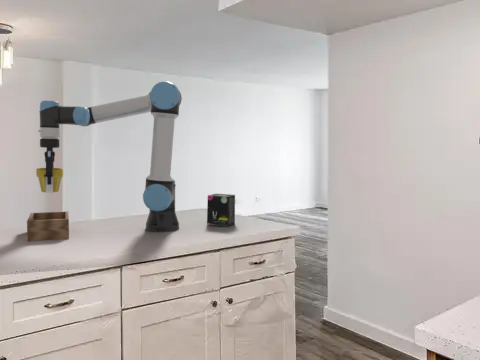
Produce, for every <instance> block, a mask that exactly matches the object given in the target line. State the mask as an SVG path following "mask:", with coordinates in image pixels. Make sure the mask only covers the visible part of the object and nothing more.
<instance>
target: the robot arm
mask: <svg viewBox="0 0 480 360" xmlns="http://www.w3.org/2000/svg"><path fill="white" fill-rule="evenodd" d="M182 99H183V98H182V93H181V91H180V89H179V88H178V86H177V85H176V84H175V83H173V82H170V81H167V80H166V81H164V80H163V81H159V82H157V83H156V84H155V85H153V87H152V88H151V90H150V91H149V92H148V94H145V95H141V96H137V97H132V98H127V99H122V100H117V101H113V102H108V103H103V104H97V105H94V106H87V107H86V106H78V105H77V106H68V105H67V106H66V105H65V106H63V105H60V102H59V101H57V100H41V102H40V103H39V112H38V113H39V129H38V133H39V137H40V139H39V147H40V148H42V149H43V148H44V149H45V148H46V151H44V162H45V168H46V173H45V174H46V175H44V177H46V192H45V193H47V194H48V193H51V194H52V193H54V192H53V177H52V176H53V168H55V167H54V163H55V157H56V152H55V151H54V149H55V148H56V149H57V148H59V149H60V139H59V138H60V136H61V135H60V130H61V129H60V125H72V126H73V125H74V126H79V127H89V126H90V125H95V124H98V123H103V122H108V121H109V122H110V121H113V120H117V119H122V118H123V119H124V118H128V117H132V116H137V115H142V114H147V113H150V114H151V116H152V117H153V128H152V138H151V139H152V142H151V155H150V167H149V168H150V169H149V174H148V176H147V177H145V187H144V191H143V193H142V199H143V200H142V201H143V203H144V205H145V206H146V207H147V209H148V210H149V213H148V216H147V219H146V222H145V230H146V231H150V232H171V231H173V232H174V231H177V230H179V229H180V223H179V220H178V216H177V213H176V186H177V185H176V180H175V179H174V178H173V177H172V176H171V170H172V160H173V159H172V158H173V148H174V147H173V143H174V131H175V120H176V119H177V118H178V117H179V115H180V112H179V111H180V105H181V104H182Z"/></svg>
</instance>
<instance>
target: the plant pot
mask: <svg viewBox="0 0 480 360" xmlns="http://www.w3.org/2000/svg"><path fill="white" fill-rule="evenodd" d="M35 173H36V174H35V175H36V177H37V178H38V182H39V187H40V191H41V192H42V193H46V177H44V175H46V174H45V173H46V167H39V168H36V172H35ZM52 177H53V193H57V192H59V191H60V190H59V189H60V185H61V181H62V178H63V177H64V168H63V167H62V168H61V167H60V168H59V167H54V168H53V176H52Z"/></svg>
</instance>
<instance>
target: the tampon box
mask: <svg viewBox="0 0 480 360" xmlns="http://www.w3.org/2000/svg"><path fill="white" fill-rule="evenodd" d="M206 209H207V211H206V213H207V215H206V218H207V219H206V225H207V226H211V227H212V226H215V227H222V226H224V227H223V228H228V227H230V226H234V225H235V223H236V221H235V220H236V194H230V193H229V194H227V193H226V194H225V193H224V194H223V193H213V194H208V195H207V208H206ZM227 226H228V227H227Z"/></svg>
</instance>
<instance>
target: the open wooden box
mask: <svg viewBox="0 0 480 360" xmlns="http://www.w3.org/2000/svg"><path fill="white" fill-rule="evenodd" d="M69 217H70V216H69V211H67V210H66V211H49V212H48V211H47V212H46V211H43V212H42V211H41V212H30V214H29V216H28V218H27V220H26V231H27V233H26V236H27V240H26V241H27V242H34V241H49V240H51V241H52V240H66V239H70V229H69V228H70V226H69V224H70V222H69V221H70V220H69Z"/></svg>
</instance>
